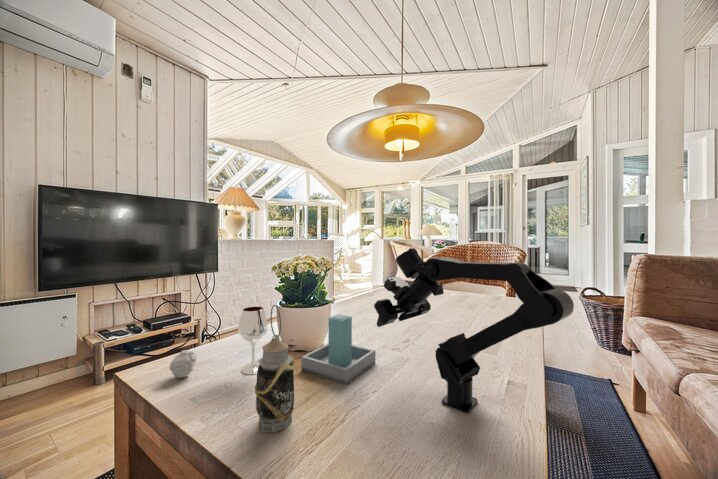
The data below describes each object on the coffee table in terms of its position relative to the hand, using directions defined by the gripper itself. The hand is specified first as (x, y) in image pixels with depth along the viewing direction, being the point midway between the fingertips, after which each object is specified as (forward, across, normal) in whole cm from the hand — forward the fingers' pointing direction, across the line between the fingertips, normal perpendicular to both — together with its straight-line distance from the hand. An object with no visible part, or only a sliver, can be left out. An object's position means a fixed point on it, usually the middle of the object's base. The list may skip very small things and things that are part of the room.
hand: (388, 322), depth 88 cm
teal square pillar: (+16, +11, +2) cm, 19 cm away
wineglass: (+27, +32, -8) cm, 43 cm away
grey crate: (+16, +11, +3) cm, 20 cm away
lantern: (+8, +37, +12) cm, 40 cm away
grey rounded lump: (+33, +49, -13) cm, 60 cm away
